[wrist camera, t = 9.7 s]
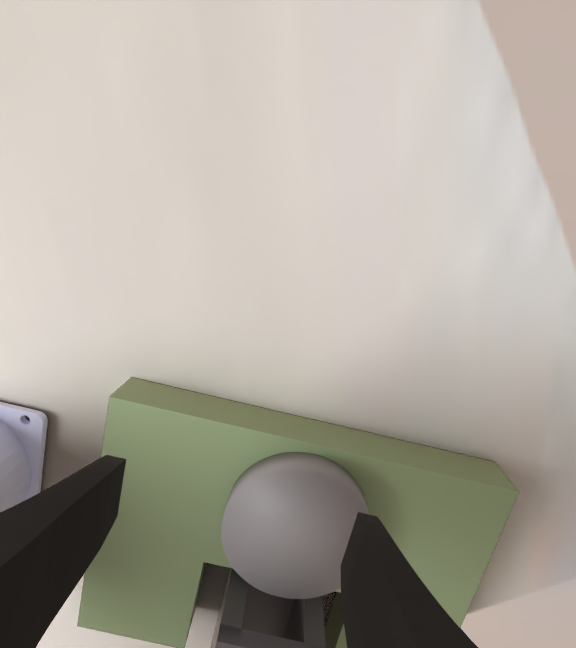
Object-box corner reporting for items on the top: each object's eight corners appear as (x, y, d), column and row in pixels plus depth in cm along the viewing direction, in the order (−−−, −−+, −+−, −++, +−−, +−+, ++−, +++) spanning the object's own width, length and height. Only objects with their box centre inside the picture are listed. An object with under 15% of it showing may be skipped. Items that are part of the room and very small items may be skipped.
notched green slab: (99, 586, 25) (61, 653, 21) (131, 377, 21) (93, 410, 18) (415, 656, 25) (436, 735, 21) (494, 462, 22) (536, 513, 18)
